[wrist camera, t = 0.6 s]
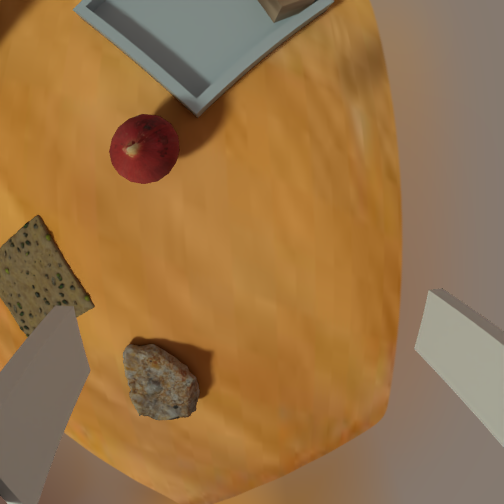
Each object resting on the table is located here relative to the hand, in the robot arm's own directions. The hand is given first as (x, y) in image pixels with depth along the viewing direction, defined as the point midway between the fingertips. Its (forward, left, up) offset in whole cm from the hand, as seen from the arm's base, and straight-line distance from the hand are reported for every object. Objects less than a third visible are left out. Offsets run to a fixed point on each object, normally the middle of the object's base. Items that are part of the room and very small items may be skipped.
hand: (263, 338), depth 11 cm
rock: (+7, -19, -22) cm, 30 cm away
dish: (-18, +14, -21) cm, 31 cm away
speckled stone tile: (-12, -21, -22) cm, 32 cm away
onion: (-10, 0, -21) cm, 24 cm away
